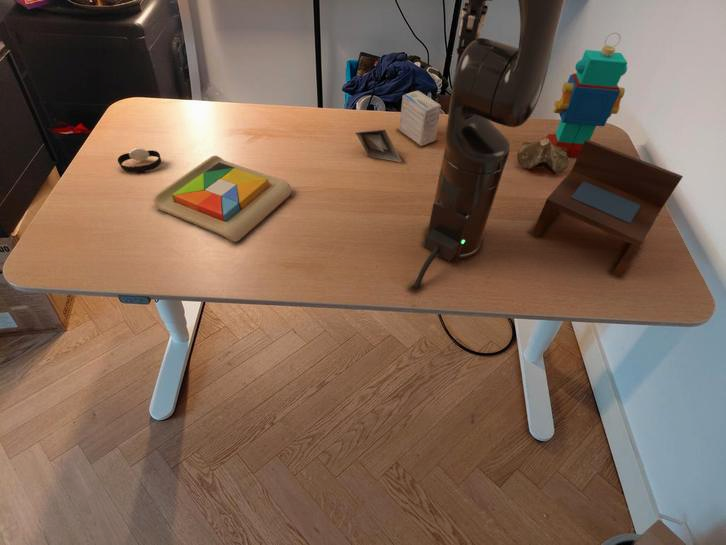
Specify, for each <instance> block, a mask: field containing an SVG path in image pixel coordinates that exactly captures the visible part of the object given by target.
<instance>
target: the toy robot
mask: <svg viewBox="0 0 726 545" xmlns="http://www.w3.org/2000/svg"><path fill="white" fill-rule="evenodd" d="M615 34H616V35H618V36H619V38H621V35H620V33H618V32H612V33H610V34H609V35H608V36H607V37H606V38H605V39H604V46H603V47H602V49H601V50H595V49H594V50H593V49H584V52H583V55H582V57H581V59H580V60H578V61H577V62H576V64H575V71H576V72H575V73H574V72H573V73H572V74H570V75H569V78H568V80H567V81H566V82H564V83H563V85H562V89H561V93H562V94H561V97H560V98H559V100H555V101H554V103H553V105H554V108H553V109H552V113H553V114H558V115H559V117H560V121H559V124H558V125H557V129H556V131H555V133H549V134H547V136H546V139H549V140H550V141H551V142H552V144H553V145H556V146H558V147H562V148H566V149H567V151H566V153H567V156H568V157H574V158H577V157H578V155H579V152H580V150H581V148H582V146H583V143H584V141H585V140H586V139H587V140H590V141H591V139H592V136H593V134H594V133H595V129H596V127H605V125H606V124H607V122H608V120H609V118H611V116H612V115H613V114H614V115H617V114H618V113H619V110H620V104H621V100H622V99H623V97H624V95H625V91H626V89H625V87H619V85H618V84H619V83H620V80H621V78H622V77H623V76H624V75H625V74H626V73H627V71H628V61H627V59H626V58H625V56H624V55H623V54H622V52H617V51H616V48H615V47H617V46H618V44H619V43H620V42H621V39H619V40H618V42H617V43H616V44H615V45H613V46H611V45H607V43H606V42H607V39H608V38H609V37H610V36H611V35H615Z"/></svg>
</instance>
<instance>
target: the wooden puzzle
mask: <svg viewBox="0 0 726 545" xmlns="http://www.w3.org/2000/svg"><path fill="white" fill-rule="evenodd" d="M291 194H292V186H291V184H290V183H289V182H287V180H284V179H281V178H278V177H274V176H272V175H268V174H266V173H263V172H261V171H260V172H259V171H257V170H254V169H251V168H247V167H244V166H241V165H238V164H235V163H233V162H230V161H226V160H225V159H223V158H222V157H221V156H219V155H212V156H210V157H209V158H207V159H206V160H204V161H202V162H201V163H199V164H198V165H197V166H195V167H194V168H193V169H191V170H190V171H188V172H187V173H185V174H183V175H182V176H181V177H179V178H178V179H176V180H175V181H174V182H172V183H171V184H170V185H168V186H166V187H165V188H163V189H162V190H161V191H159V192H157V193H156V194H155V195H154V197H153V203H154V206H155V208H157V209H158V210H160V211H161V212H163V213H167V214H169V215H172V216H174V217H176V218H178V219H181V220H183V221H186V222H188V223H191V224H194V225H196V226H199V227H201V228H203V229H206V230H209V231H211V232H213V233H216V234H217V235H220V236H223V237H224V238H226V239H227V240H228V241H231V242H239V241H241V239H242V238H243V237H245V236H246V235H247V234H248V233H250V232H251V231H252V230H253V229H254V228H255V227H257V225H259V224H260V223H261V222H262V221H263V220H265V219H266V217H267V216H269V215H270V214H271V213H272V212H273V211H275V209H276V208H278V207H279V206H280V205H281V204H282V203H283V202H284V201H286V200H287V199H288V197H289V196H291Z"/></svg>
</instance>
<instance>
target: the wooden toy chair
mask: <svg viewBox="0 0 726 545" xmlns="http://www.w3.org/2000/svg"><path fill="white" fill-rule="evenodd" d="M571 168H572V169H571V170H570V171H569V172H568V174H566V176H565V177H564V178H563V179H562V181H560V183H559V184H558V185H557V186H556V187H555V189H554V190H553V191H552V192H551V193H550V195H549V196H548V197H547V198H546V200H545V202H544V205H543V207H542V209H541V212H540V214H539V215H538V219H537V221H536V224H535V226H534V228H533V231H532V235H534V236H536V237H539V236H540V235H541V234H542V233H543V231H545V229H546V228H547V227H548V225H549V224H550V223H551V221H553V219H554V218H555V216H556V215H557V214H558V213H559V212H561V213H563V214H565V215H567V216H569V217H571V218H574V219H577V220H578V221H580V222H582V223H585V224H587V225H589V226H591V227H593V228H595V229H598V230H600V231H602V232H605V233H606V234H609V235H611V236H613V237H615V238H618V239H619V240H622V241H624V242H627V243H628V244H629V245H628V247H627V249H626V250H625V252H624V254H623V255H622V257H621V259H620V261H619V262H618V264H617V265H616V267H615V269H614V271H613V273H612V274H614V275H616V276H618V277H621V276H622V275H623V273H624V272H625V270H626V269H627V267H628V265H629V264H630V262H631V261H632V260H633V258H634V257H635V255H636V253H637V252H638V250H639V249H640V247H641V246H642V244H643V243H644V241H645V239H646V237H647V236H648V234H649V233H650V231H651V229H652V228H653V225H654V223H655V222H656V220H657V218H658V217H659V214H660V212H661V211H662V210H663V208H664V206H665V204H666V203H667V202H668V200H669V198H670V197H671V196H672V194H673V192H674V191H675V190H676V188H677V186H678V185H679V184H680V182H681V181H682V179H683V177H684V176H683V175H682V174H679V173H676V172H673V171H671V170H669V169H666V168H662V167H660V166H658V165H655V164H653V163H650V162H647V161H645V160H642V159H640V158H637V157H634V156H631V155H630V154H628V153H624V152H621V151H619V150H616V149H613V148H611V147H608V146H606V145H603V144H601V143H598V142H596V141H592V140H591V139H590V140H587V139H586V140H585V141H584V143H583V146H582V148H581V150H580V152H579V155H578V157H576V159H575V162H574V163H573V166H572V167H571Z"/></svg>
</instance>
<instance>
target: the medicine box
mask: <svg viewBox="0 0 726 545" xmlns="http://www.w3.org/2000/svg"><path fill="white" fill-rule="evenodd" d="M441 108H442V105H441V104H440V103H438V102H437V101H435V100H433V99H432V98H430V97H429V96H427V95H426V94H425V93H423V92H421V91H420V90H414V91H411V92H407V93H404V94H403V95H402V100H401V109H400V117H399V126H398V130H399V131H400V132H401V133H402V134H404V135H405V136H406V137H408V138H409V139H411V140H412V141H413V142H414V143H416V144H417V145H418V146H420V147H422V146H425V145H426V146H427V145H428V144H430V143H433V142H435V141H436V140H437V132H438V126H439V122H440V115H441Z"/></svg>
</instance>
